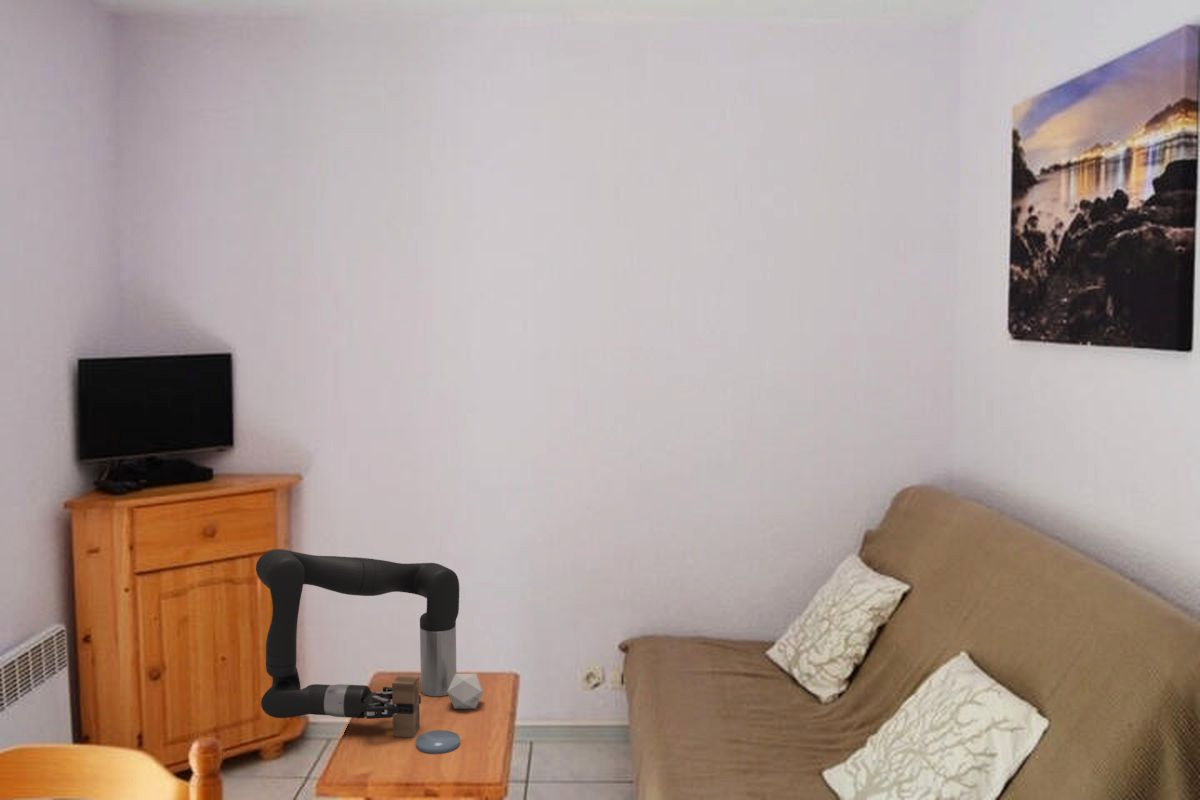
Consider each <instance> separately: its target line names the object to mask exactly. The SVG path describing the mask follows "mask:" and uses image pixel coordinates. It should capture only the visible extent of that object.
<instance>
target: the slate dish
mask: <svg viewBox="0 0 1200 800" xmlns="http://www.w3.org/2000/svg"><path fill="white" fill-rule="evenodd" d="M415 744H416V749H417V750H418V751H420V752H422V753H425V754H434V755H437V754H445V753H449V752H452V751H455V750H456V749H458V748H459V746H460V745H461V738H460V735H459V734H458V733H456V732H453V731H451V730H446V729H445V730H444V729H441V730H437V729H436V730H431V731H427V732H423V733H421V734H419V736H417V738H416V740H415Z"/></svg>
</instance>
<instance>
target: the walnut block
mask: <svg viewBox="0 0 1200 800" xmlns="http://www.w3.org/2000/svg"><path fill="white" fill-rule="evenodd" d="M391 686H392V687H391V688H392V699H393V703H397V705H398V704H399V703H402V704H413V705H414V713H413V714H400V713H398V714H397V715H393V717H392V737H403V738H415V737H416V735H417V733H418V732H419V730H420V728H421V726H420V724H421V723H420V722H421V721H420V716H421V715H420V704H419V695H420V676H419V675H405V674H403V675H401V674H399V675H397V676H396V678H395V679H394V680H393V681H392V682H391ZM392 699H391V700H392Z"/></svg>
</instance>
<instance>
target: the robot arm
mask: <svg viewBox="0 0 1200 800" xmlns="http://www.w3.org/2000/svg"><path fill="white" fill-rule="evenodd" d="M255 564H256V565H255V571H256V575H257V577H258V579H259V581H260V582H262V583H263V585H264V586H265V587H266V588H268V589H269V592H270V596H271V603H272V605H271V606H272V615H271V621H270V625H269V628H268V632H267V636H266V641H265V669H266V673H267V675H268V676H270V677H271V679H272V685H271V686H270V687H269V688H268V689H267V690H266V692H265V693H264V694H263V695H262V698H261V701H260V705H261V709H262V711H263V712H264V713H265V714H266V715H268V716H270V717H272V718H276V719H288V718H294V717H295V718H296V717H302V716H306V715H315V716H331V717H336V718H353V719H365V718H366V719H368V720H372V719H391V718H392V719H393V715H397V714H398V713H400V714H413V713H414V705H413V704H402V703H399V704H398V705H397V703H393V699H392V687H391V686H390V687H389V686H383V687H382V690H381V691H375V692H372V690H371V689H370V687H369V686H368V685H366V684H365V685H364V684H343V683H342V684H341V683H339V684H319V683H315V684H309V685H307V686H306V687H304V688H302V689H301V681H300V676H299V672H298V668H297V639H298V638H297V637H298V636H297V633H298V632H297V631H298V620H299V614H300V613H299V612H300V611H299V610H300V603H301V598H302V593H303V587H304V585H308V586H314V587H318V588H322V589H325V590H328V591H331V592H335V593H339V594H341V595H342V594H343V595H349V596H358V597H359V596H362V597H363V596H364V597H374V596H375V597H376V596H381V595H385V594H388V593H389V594H390V593H394V592H395V593H397V592H398V593H406V594H413V595H418V596H420V597H422V598H426V611H425V612H424V613H423V614H422V615H421V616H420V617H419V642H420V643H419V645H420V646H419V647H420V651H419V652H420V658H419V660H420V692H421V693H422V694H423V695H425V696H429V697H444V696H449V695H448V692H447V691H448V689H449V686H450V684H451V682H452V680H453V678H454V676H455V674H457V632H456V631H457V630H456V629H457V628H456V627H457V626H456V625H457V624H456V623H457V618H458V615H459V610H460V582H459V577H458V575H457V573H456V572H455V571H454V570H452V569H451V568H448V567H446V566H444V565H441V564H439V563H435V562H420V563H419V562H417V563H416V562H415V563H401V562H396V561H395V562H393V561H389V560H384V559H376V558H368V557H354V556H337V555H336V556H335V555H334V556H333V555H313V554H309V553H304V552H303V553H302V552H297V551H293V550H288V549H284V548H276V549H271V550H269V551H266V552H265V553H263V554H262V555H261V556H260V557H259V558H258V560H257V561H256V563H255ZM421 702H422V697H421V695H420V694H419V705H420V704H421Z"/></svg>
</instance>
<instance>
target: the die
mask: <svg viewBox="0 0 1200 800" xmlns="http://www.w3.org/2000/svg"><path fill="white" fill-rule="evenodd" d="M447 692H448V695H447V696H448V697H449V699H450V701H451V704H452V706H453V708H454V710H476V709H477V707H478V704H479V702H480V700H481V697H482V696H483V693H484V689H483V687H482V684H481V682H480V679H479V677H478V674H477V673H456V674H455V676H454V678H453V680H452V682H451V684H450V686H449V689H448V691H447Z"/></svg>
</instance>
